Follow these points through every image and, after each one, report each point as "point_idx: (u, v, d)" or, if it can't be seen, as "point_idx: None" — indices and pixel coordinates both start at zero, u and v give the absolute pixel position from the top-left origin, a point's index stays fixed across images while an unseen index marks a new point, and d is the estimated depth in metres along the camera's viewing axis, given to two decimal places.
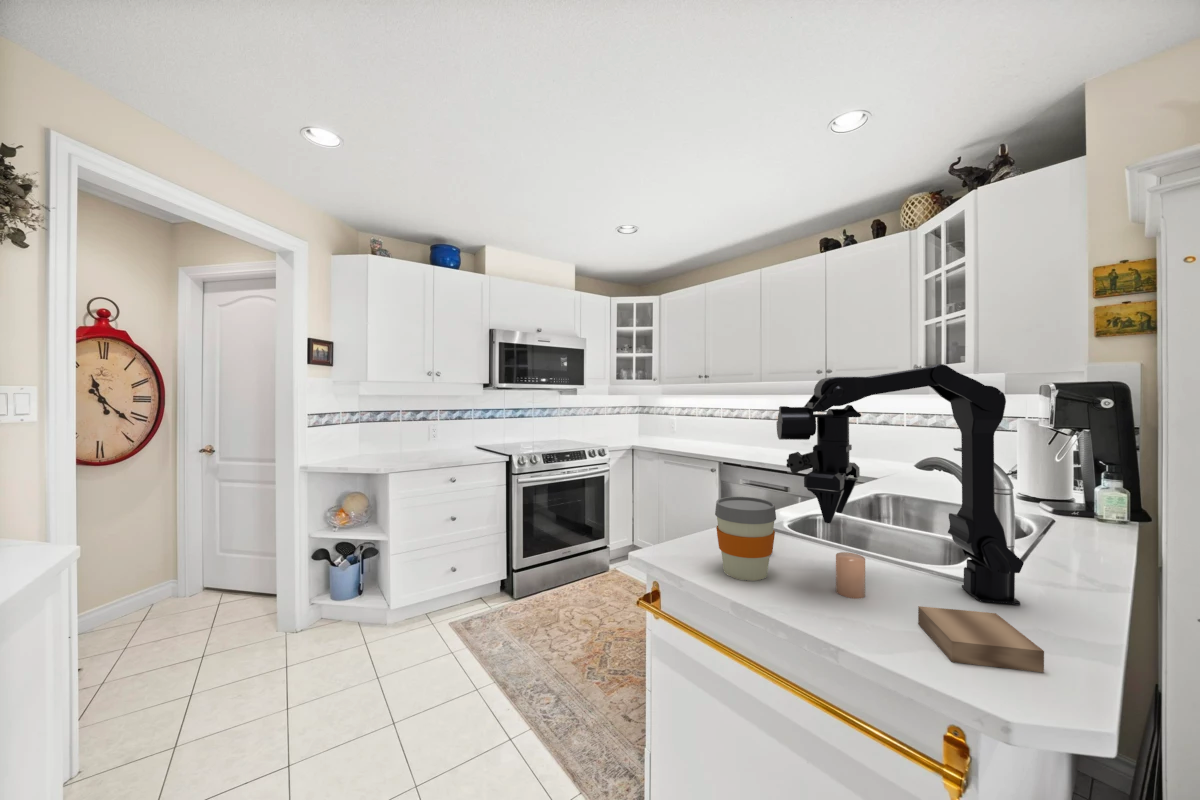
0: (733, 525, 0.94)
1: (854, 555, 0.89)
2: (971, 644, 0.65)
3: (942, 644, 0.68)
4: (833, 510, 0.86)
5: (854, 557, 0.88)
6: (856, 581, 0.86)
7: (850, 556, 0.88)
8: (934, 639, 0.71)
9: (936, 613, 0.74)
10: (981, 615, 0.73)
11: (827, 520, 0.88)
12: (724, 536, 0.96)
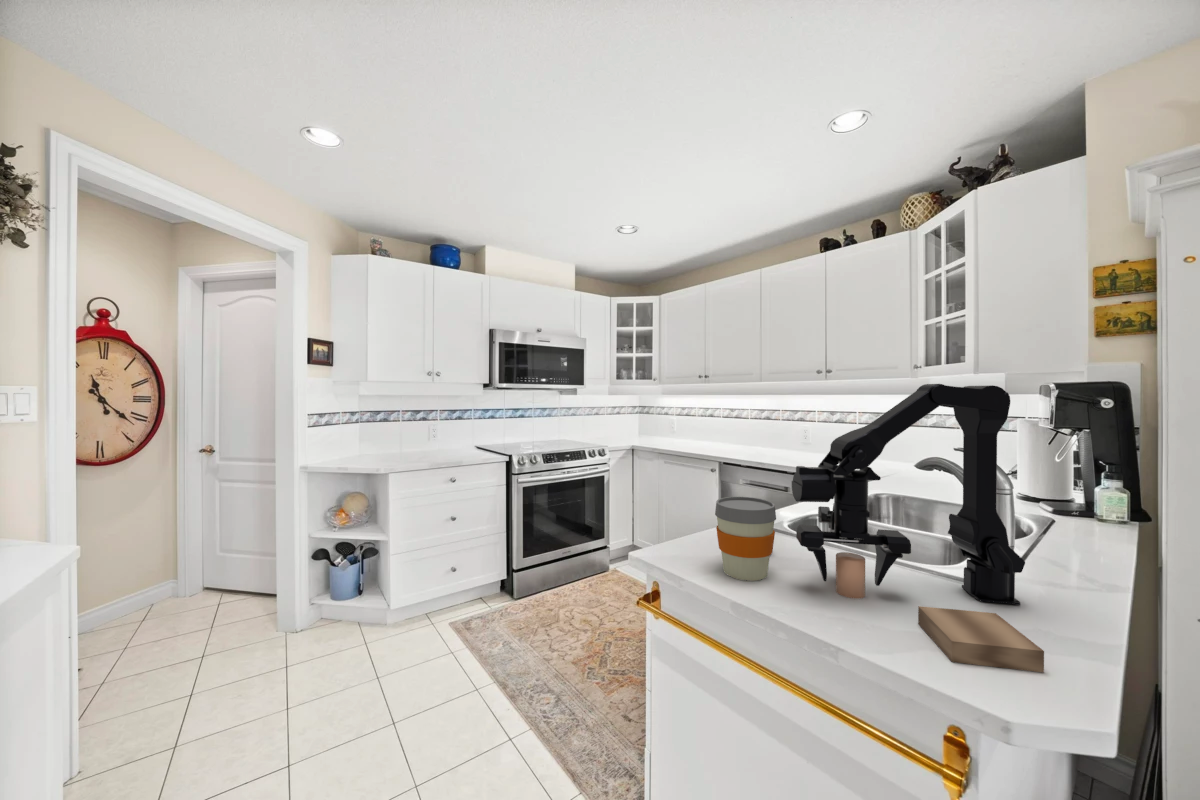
0: (733, 525, 0.94)
1: (854, 555, 0.89)
2: (971, 644, 0.65)
3: (942, 644, 0.68)
4: (820, 568, 0.88)
5: (854, 557, 0.88)
6: (856, 581, 0.86)
7: (850, 556, 0.88)
8: (934, 639, 0.71)
9: (936, 613, 0.74)
10: (981, 615, 0.73)
11: None
12: (724, 536, 0.96)
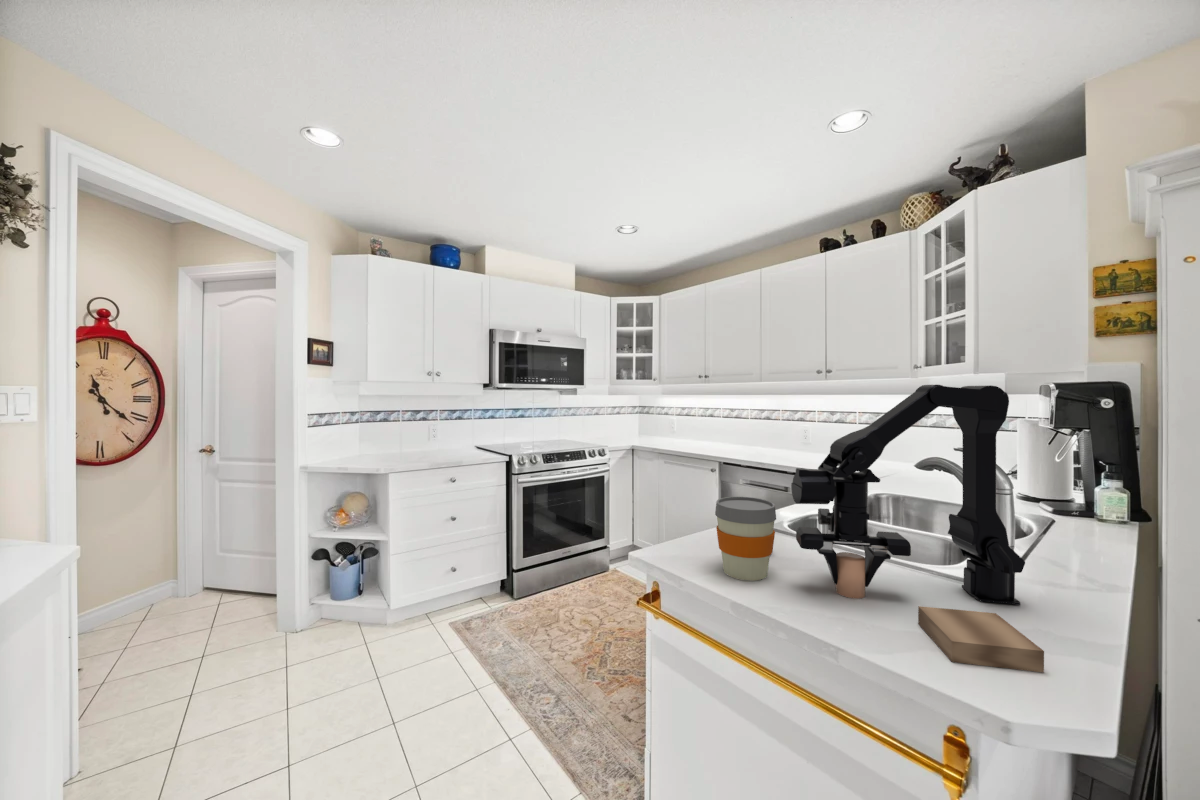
0: (733, 525, 0.94)
1: (854, 555, 0.89)
2: (971, 644, 0.65)
3: (942, 644, 0.68)
4: (831, 571, 0.88)
5: (854, 557, 0.88)
6: (856, 581, 0.86)
7: (850, 556, 0.88)
8: (934, 639, 0.71)
9: (936, 613, 0.74)
10: (981, 615, 0.73)
11: (834, 581, 0.89)
12: (724, 536, 0.96)
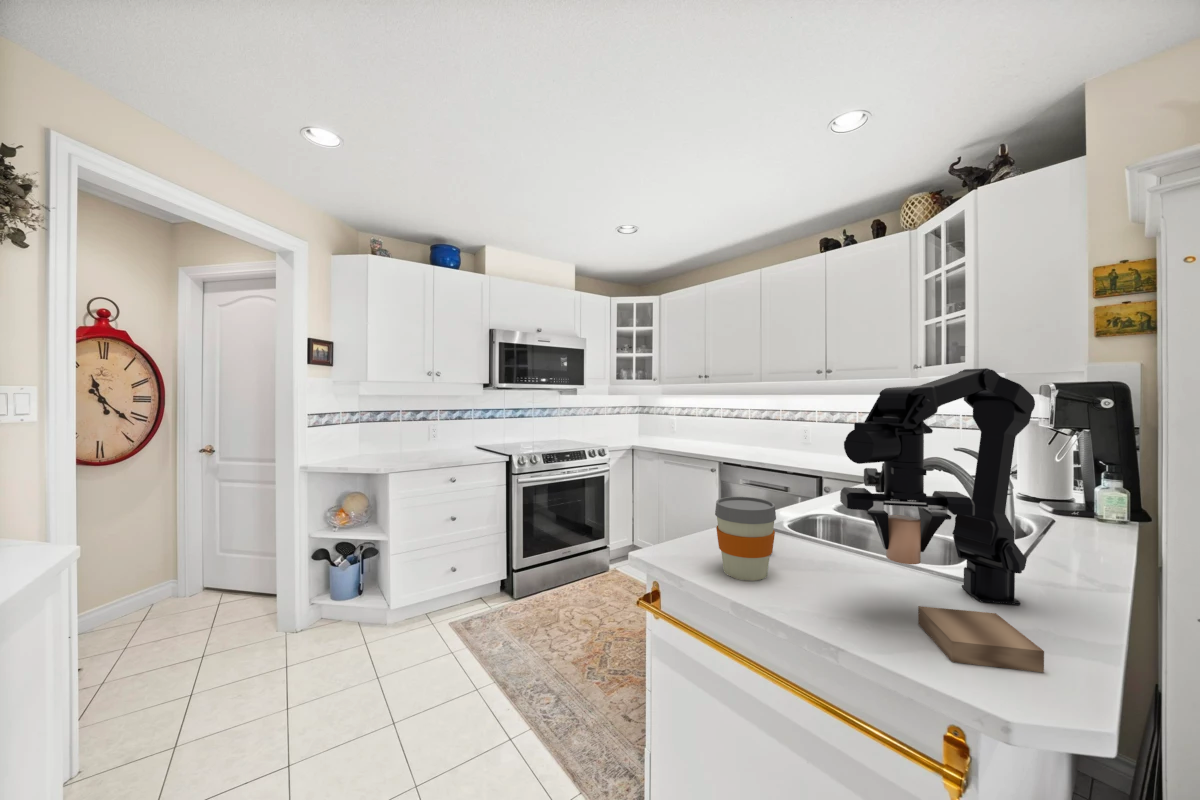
0: (733, 525, 0.94)
1: (907, 517, 0.80)
2: (971, 644, 0.65)
3: (942, 644, 0.68)
4: (881, 534, 0.79)
5: (907, 519, 0.79)
6: (911, 544, 0.77)
7: (903, 518, 0.79)
8: (934, 639, 0.71)
9: (936, 613, 0.74)
10: (981, 615, 0.73)
11: (884, 546, 0.80)
12: (724, 536, 0.96)
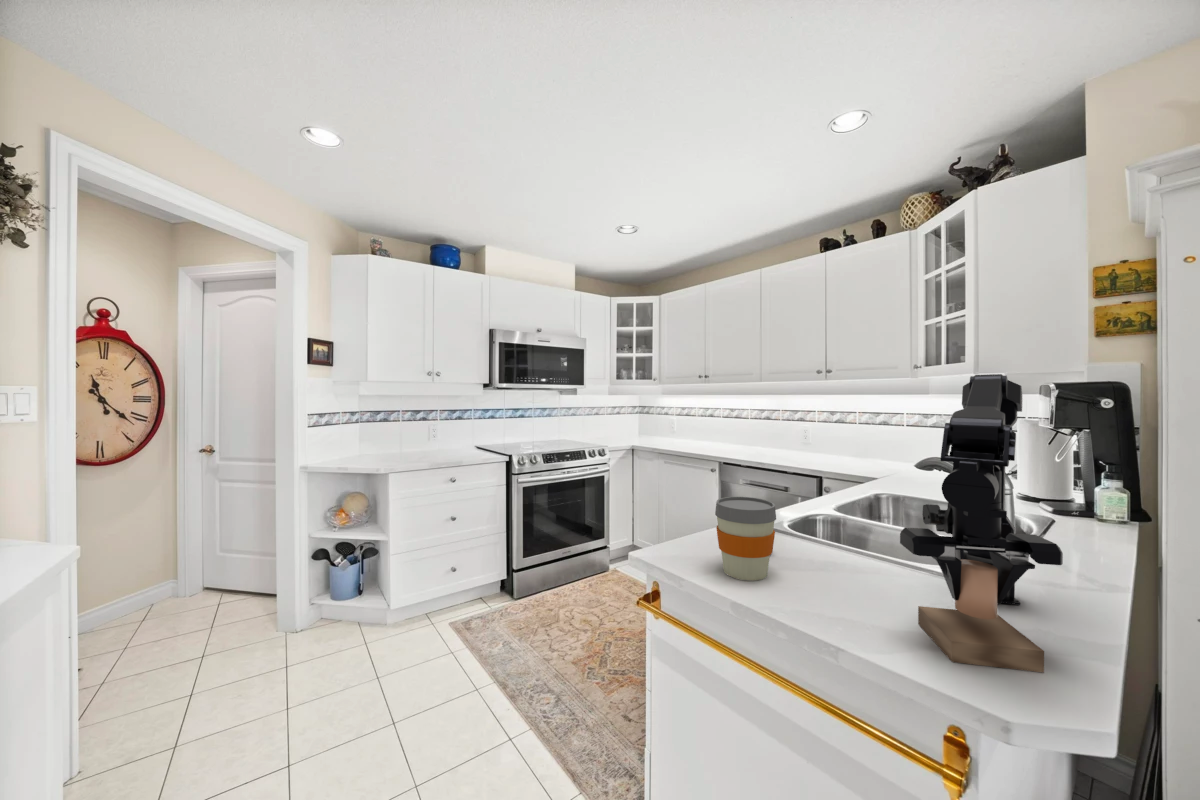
0: (733, 525, 0.94)
1: (979, 563, 0.70)
2: (971, 644, 0.65)
3: (942, 644, 0.68)
4: (951, 583, 0.69)
5: (981, 566, 0.69)
6: (988, 597, 0.67)
7: (975, 564, 0.70)
8: (934, 639, 0.71)
9: (936, 613, 0.74)
10: None
11: (954, 596, 0.70)
12: (724, 536, 0.96)
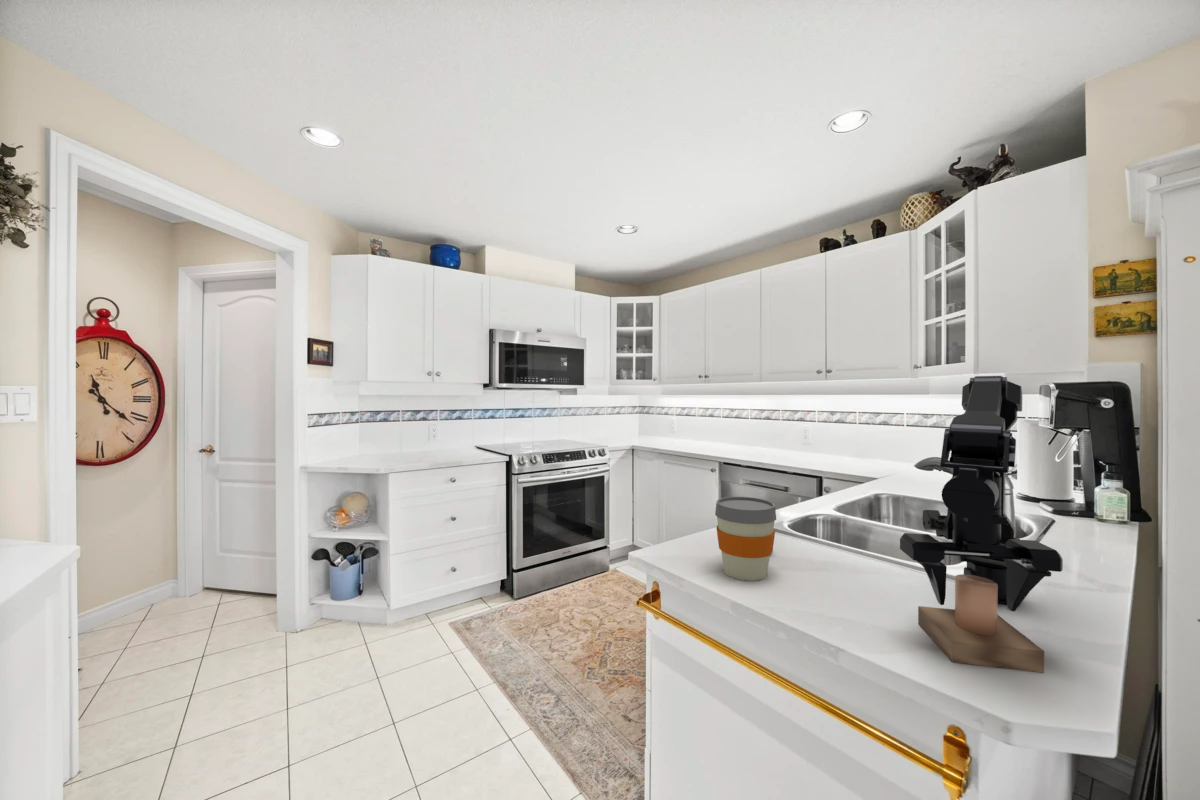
0: (733, 525, 0.94)
1: (979, 579, 0.70)
2: (971, 644, 0.65)
3: (942, 644, 0.68)
4: (937, 588, 0.70)
5: (981, 582, 0.69)
6: (988, 613, 0.67)
7: (975, 580, 0.70)
8: (934, 639, 0.71)
9: (936, 613, 0.74)
10: None
11: (939, 600, 0.71)
12: (724, 536, 0.96)
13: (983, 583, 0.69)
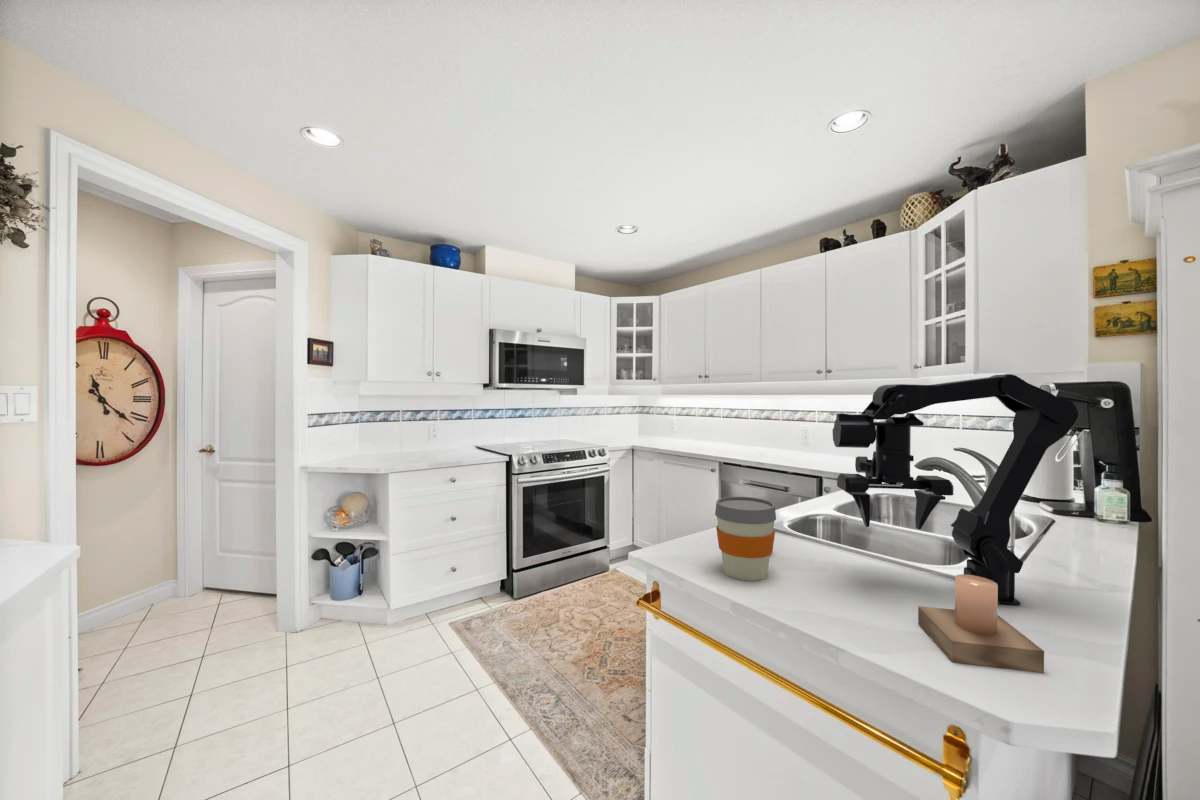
0: (733, 525, 0.94)
1: (979, 579, 0.70)
2: (971, 644, 0.65)
3: (942, 644, 0.68)
4: (863, 513, 0.89)
5: (981, 582, 0.69)
6: (988, 613, 0.67)
7: (975, 580, 0.70)
8: (934, 639, 0.71)
9: (936, 613, 0.74)
10: None
11: (866, 524, 0.91)
12: (724, 536, 0.96)
13: (983, 583, 0.69)
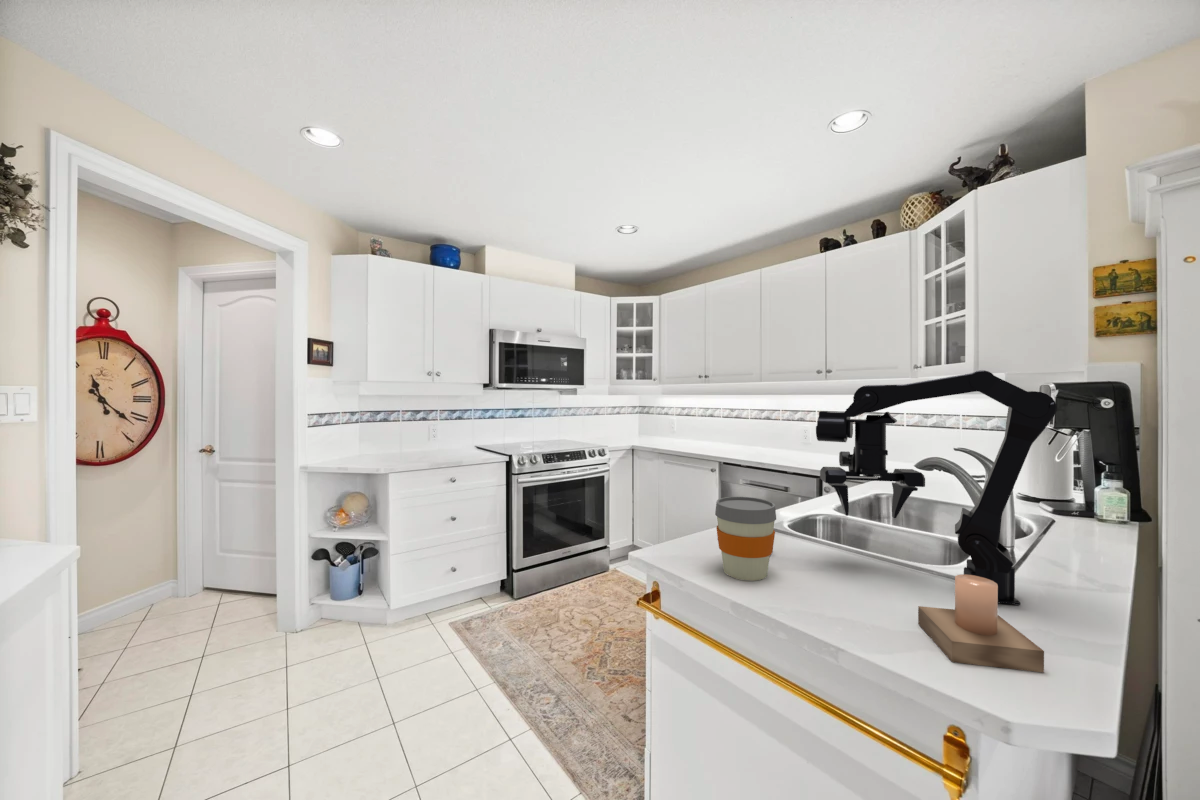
0: (733, 525, 0.94)
1: (979, 579, 0.70)
2: (971, 644, 0.65)
3: (942, 644, 0.68)
4: (842, 503, 0.98)
5: (981, 582, 0.69)
6: (988, 613, 0.67)
7: (975, 580, 0.70)
8: (934, 639, 0.71)
9: (936, 613, 0.74)
10: None
11: None
12: (724, 536, 0.96)
13: (983, 583, 0.69)
